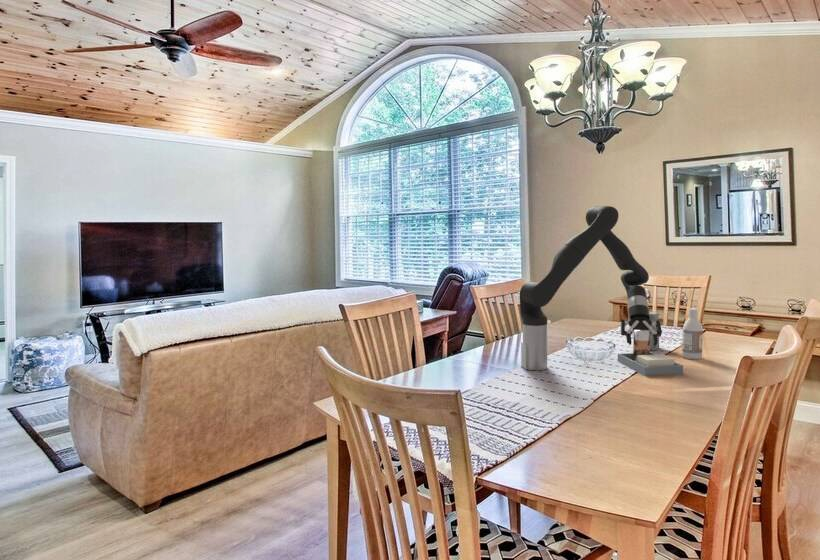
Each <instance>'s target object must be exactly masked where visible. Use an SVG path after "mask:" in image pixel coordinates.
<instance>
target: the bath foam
mask: <svg viewBox="0 0 820 560" xmlns="http://www.w3.org/2000/svg"><path fill="white" fill-rule="evenodd" d="M698 310H699V309H698V308H696V307H695V308H694V307H691V308H689V310H688V318H687V320H685V322H684V325H683V328H682V350H681V352H682V358H684V359H687V360H696V361H697V360H701V359H702V358H703V341H704V340H703V336H704V333H703V332H704V330H703V329H704V328H703V325H702V323H701V321H700V320H699V318H698V314H699V313H698Z"/></svg>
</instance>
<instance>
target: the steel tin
mask: <svg viewBox="0 0 820 560" xmlns="http://www.w3.org/2000/svg"><path fill="white" fill-rule="evenodd" d="M632 351H633V352H632V353H633V361H635V362H637V355H650V352H651V350H650V330H647V329H634V332H633V343H632Z"/></svg>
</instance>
